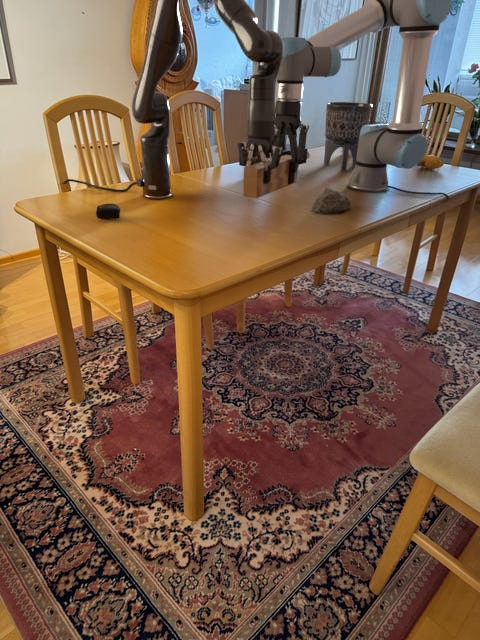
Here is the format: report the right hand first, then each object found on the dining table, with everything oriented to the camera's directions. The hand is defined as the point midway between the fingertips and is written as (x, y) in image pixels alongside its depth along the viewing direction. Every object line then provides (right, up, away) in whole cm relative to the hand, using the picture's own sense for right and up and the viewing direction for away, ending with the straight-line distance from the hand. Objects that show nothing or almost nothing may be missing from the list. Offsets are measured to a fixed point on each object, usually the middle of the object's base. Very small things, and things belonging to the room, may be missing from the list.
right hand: (283, 181), depth 143 cm
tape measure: (-53, -13, -5) cm, 55 cm away
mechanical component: (+4, +20, +54) cm, 57 cm away
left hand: (-8, -4, -12) cm, 15 cm away
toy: (+74, +28, +69) cm, 105 cm away
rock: (+17, -7, +8) cm, 20 cm away
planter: (+33, +28, +68) cm, 80 cm away
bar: (-4, -4, -5) cm, 8 cm away
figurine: (+43, +43, +95) cm, 113 cm away
